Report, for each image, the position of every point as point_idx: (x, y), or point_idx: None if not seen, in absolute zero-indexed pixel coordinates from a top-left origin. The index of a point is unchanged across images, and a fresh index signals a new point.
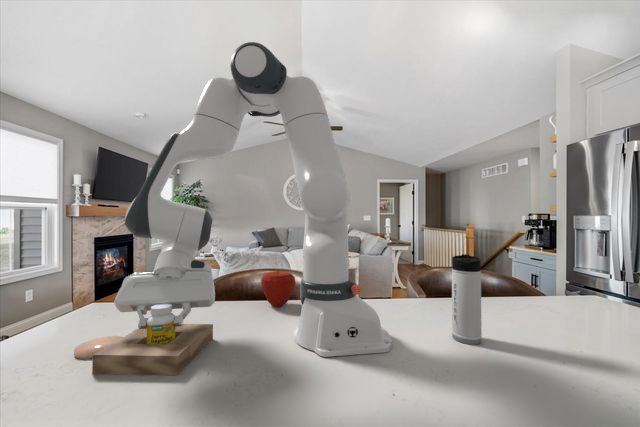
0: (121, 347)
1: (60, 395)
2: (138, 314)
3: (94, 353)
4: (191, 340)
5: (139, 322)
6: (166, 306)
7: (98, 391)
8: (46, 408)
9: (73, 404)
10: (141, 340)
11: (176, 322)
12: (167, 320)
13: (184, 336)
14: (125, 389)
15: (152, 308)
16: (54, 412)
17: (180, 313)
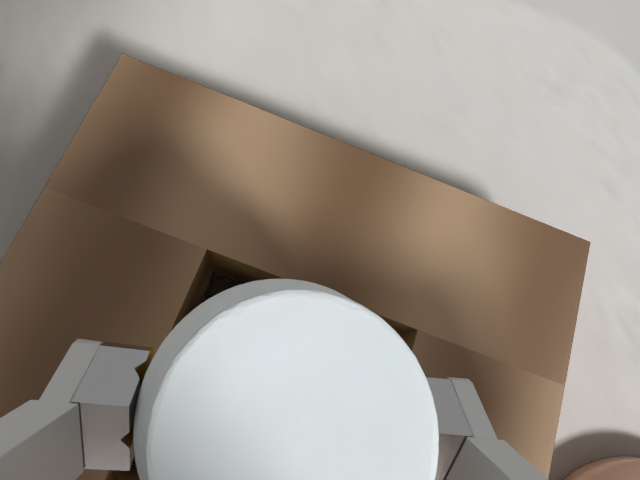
0: (480, 295)
1: (554, 131)
2: (542, 474)
3: (628, 462)
4: (33, 261)
5: (474, 399)
6: (220, 381)
7: (436, 108)
8: (549, 66)
9: (479, 56)
10: None
11: (122, 346)
12: (204, 304)
13: None
14: (341, 84)
15: (398, 340)
16: (512, 35)
17: (55, 422)
